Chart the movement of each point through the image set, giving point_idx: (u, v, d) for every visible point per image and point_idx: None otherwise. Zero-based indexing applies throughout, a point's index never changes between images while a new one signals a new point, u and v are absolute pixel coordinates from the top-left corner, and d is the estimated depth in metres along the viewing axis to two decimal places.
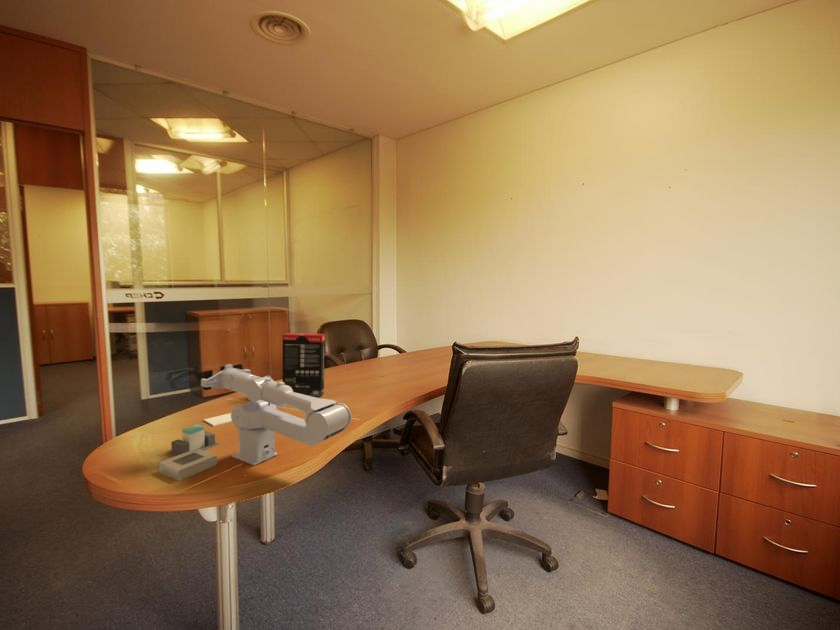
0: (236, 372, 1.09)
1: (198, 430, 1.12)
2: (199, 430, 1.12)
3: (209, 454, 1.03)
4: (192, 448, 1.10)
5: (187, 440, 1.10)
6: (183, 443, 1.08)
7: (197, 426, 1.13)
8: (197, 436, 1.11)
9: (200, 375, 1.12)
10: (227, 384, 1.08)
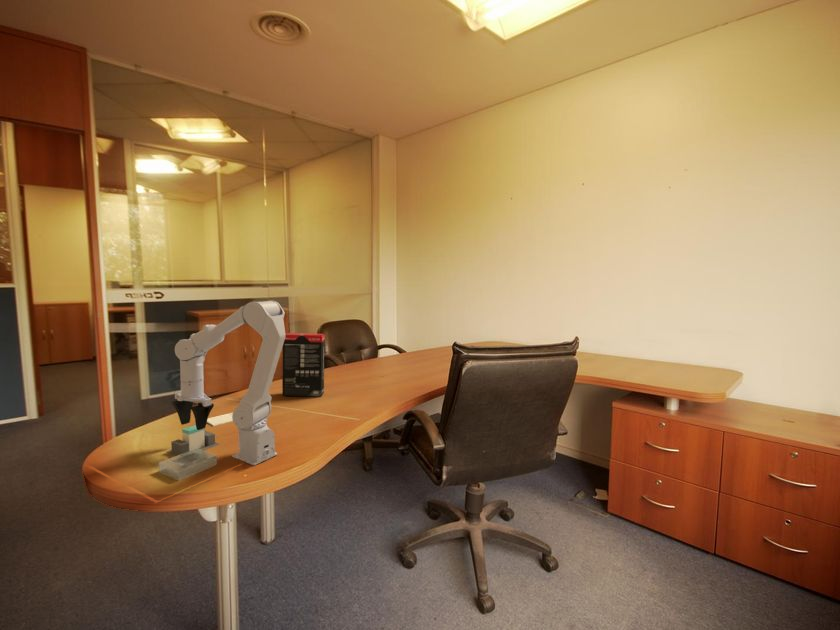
0: (184, 383, 1.08)
1: (198, 430, 1.12)
2: (199, 430, 1.12)
3: (209, 454, 1.03)
4: (192, 448, 1.10)
5: (187, 440, 1.10)
6: (183, 443, 1.08)
7: None
8: (197, 436, 1.11)
9: (200, 421, 1.09)
10: (200, 385, 1.10)
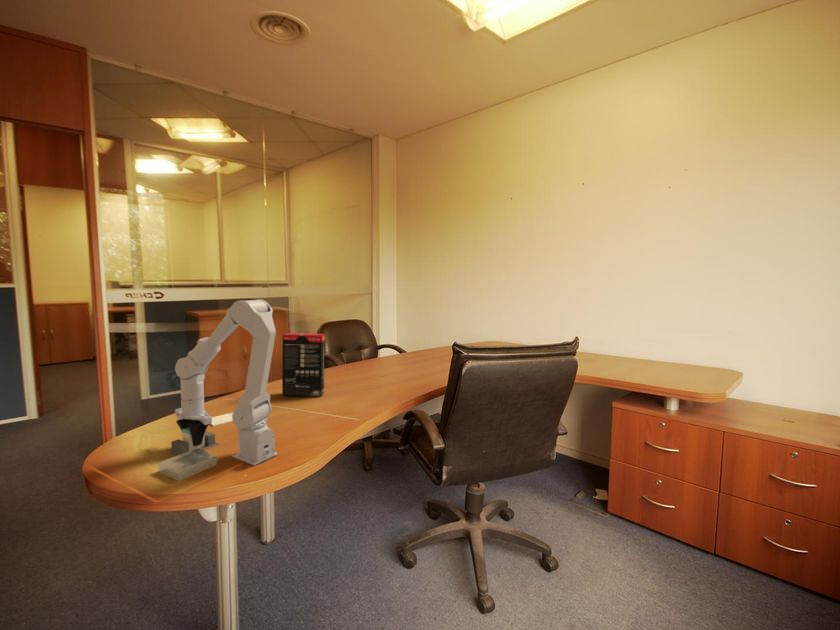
0: (184, 401, 1.09)
1: None
2: None
3: (209, 454, 1.03)
4: (192, 448, 1.10)
5: (187, 440, 1.10)
6: (183, 443, 1.08)
7: None
8: None
9: (197, 437, 1.11)
10: (200, 403, 1.11)
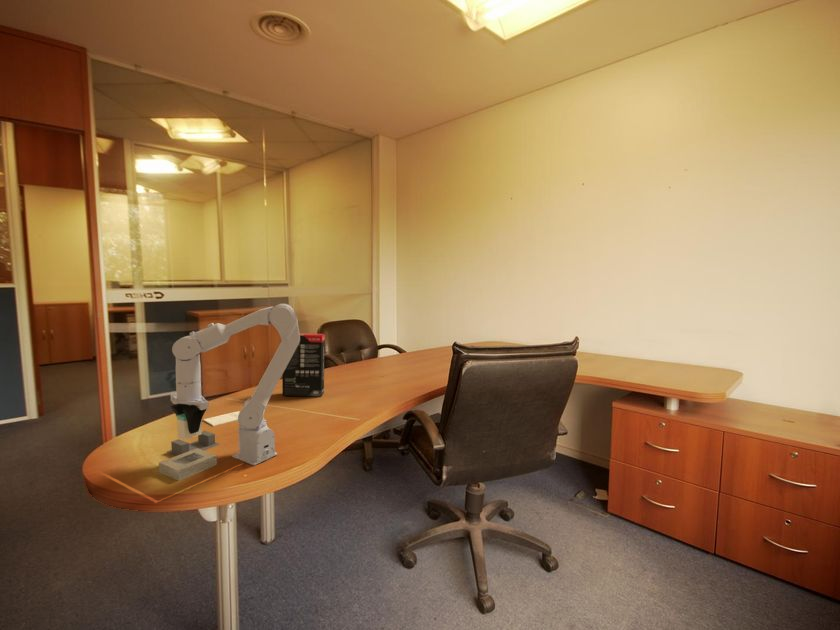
0: (179, 384, 1.00)
1: None
2: None
3: (209, 454, 1.03)
4: (188, 436, 1.02)
5: (182, 427, 1.01)
6: (183, 443, 1.08)
7: None
8: None
9: (193, 424, 1.02)
10: (197, 387, 1.02)
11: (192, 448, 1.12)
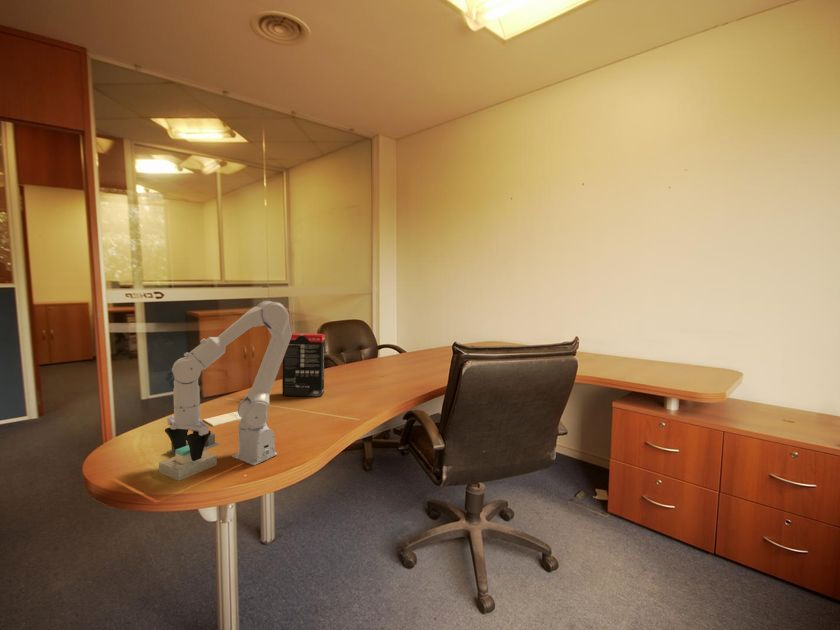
0: (177, 409, 0.96)
1: None
2: None
3: (209, 454, 1.03)
4: None
5: (181, 462, 0.98)
6: None
7: None
8: None
9: (196, 451, 0.97)
10: (196, 411, 0.98)
11: None
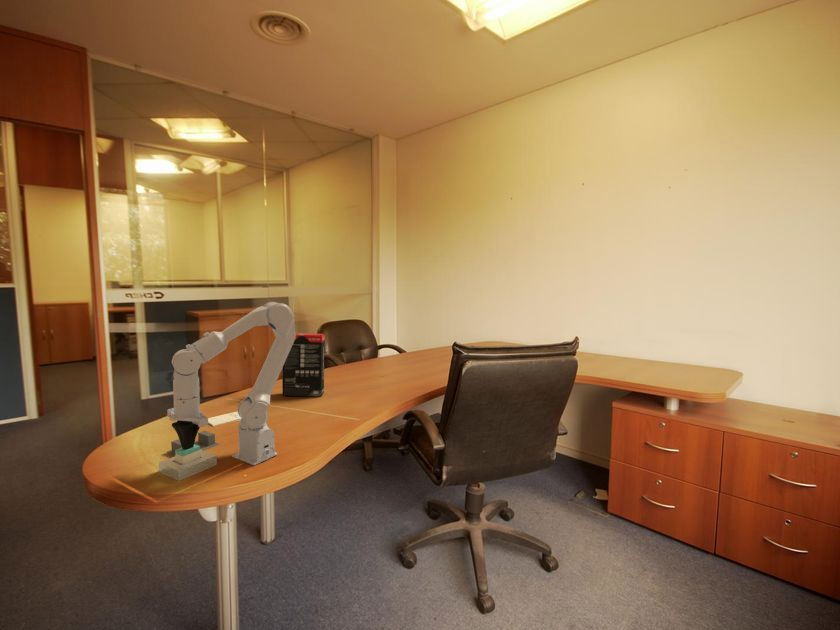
0: (177, 400, 0.96)
1: (193, 451, 0.99)
2: (194, 451, 1.00)
3: (209, 454, 1.03)
4: None
5: (181, 462, 0.98)
6: None
7: None
8: (192, 457, 0.99)
9: (188, 440, 0.99)
10: (195, 402, 0.98)
11: None
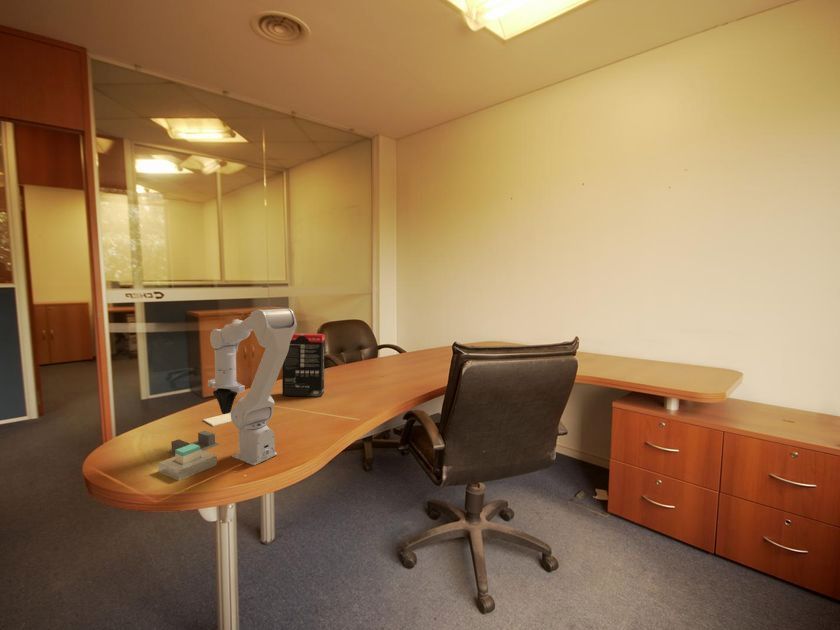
0: (218, 371, 1.13)
1: (193, 451, 0.99)
2: (194, 451, 1.00)
3: (209, 454, 1.03)
4: None
5: (181, 462, 0.98)
6: (183, 443, 1.08)
7: (192, 446, 1.01)
8: (192, 457, 0.99)
9: (226, 405, 1.16)
10: (233, 373, 1.15)
11: None
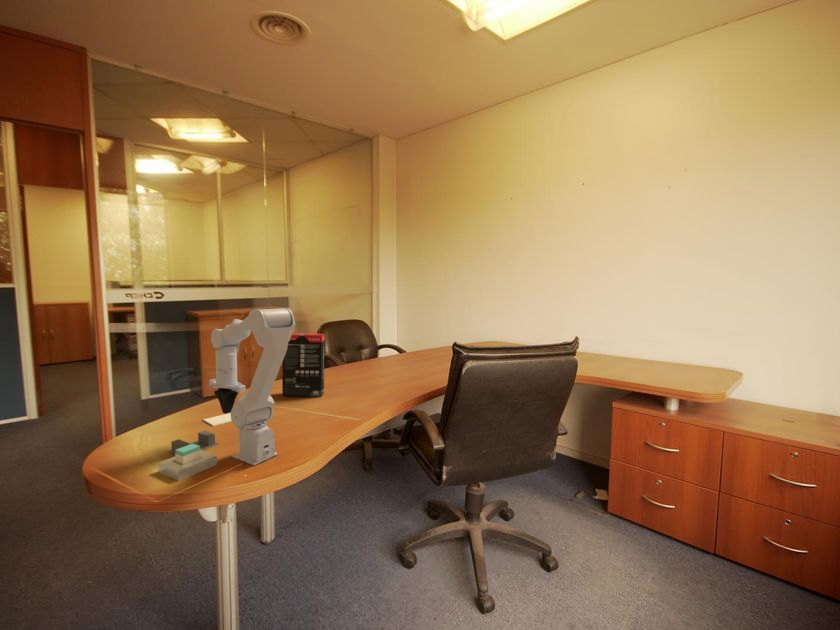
0: (219, 371, 1.13)
1: (193, 451, 0.99)
2: (194, 451, 1.00)
3: (209, 454, 1.03)
4: None
5: (181, 462, 0.98)
6: (183, 443, 1.08)
7: (192, 446, 1.01)
8: (192, 457, 0.99)
9: (227, 405, 1.16)
10: (234, 373, 1.15)
11: None
